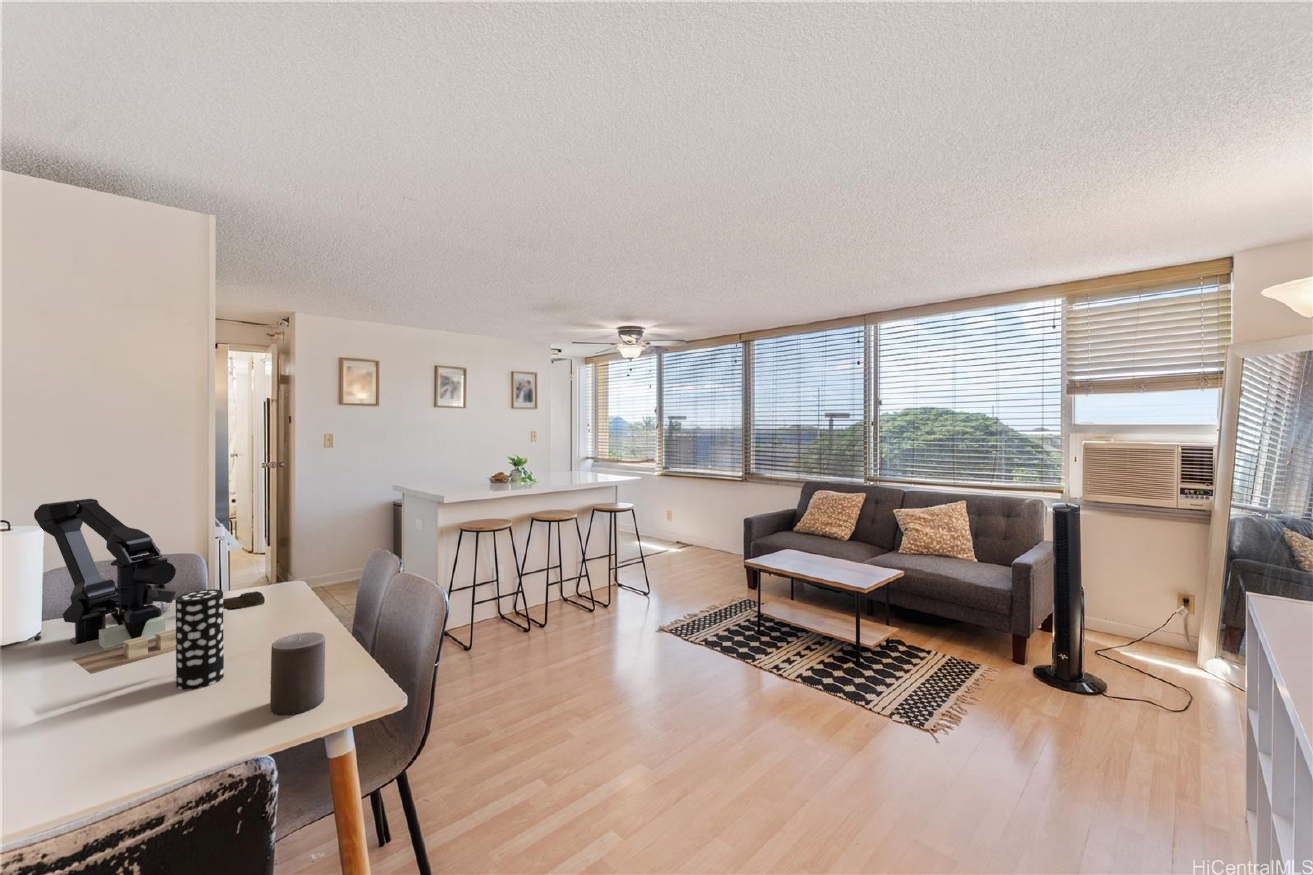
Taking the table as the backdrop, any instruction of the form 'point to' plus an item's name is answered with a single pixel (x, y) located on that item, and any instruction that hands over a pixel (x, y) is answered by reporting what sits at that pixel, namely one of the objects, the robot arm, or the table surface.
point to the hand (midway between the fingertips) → (133, 640)
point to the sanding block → (120, 634)
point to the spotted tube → (199, 639)
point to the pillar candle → (297, 673)
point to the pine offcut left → (135, 647)
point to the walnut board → (117, 657)
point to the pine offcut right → (166, 639)
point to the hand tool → (244, 600)
